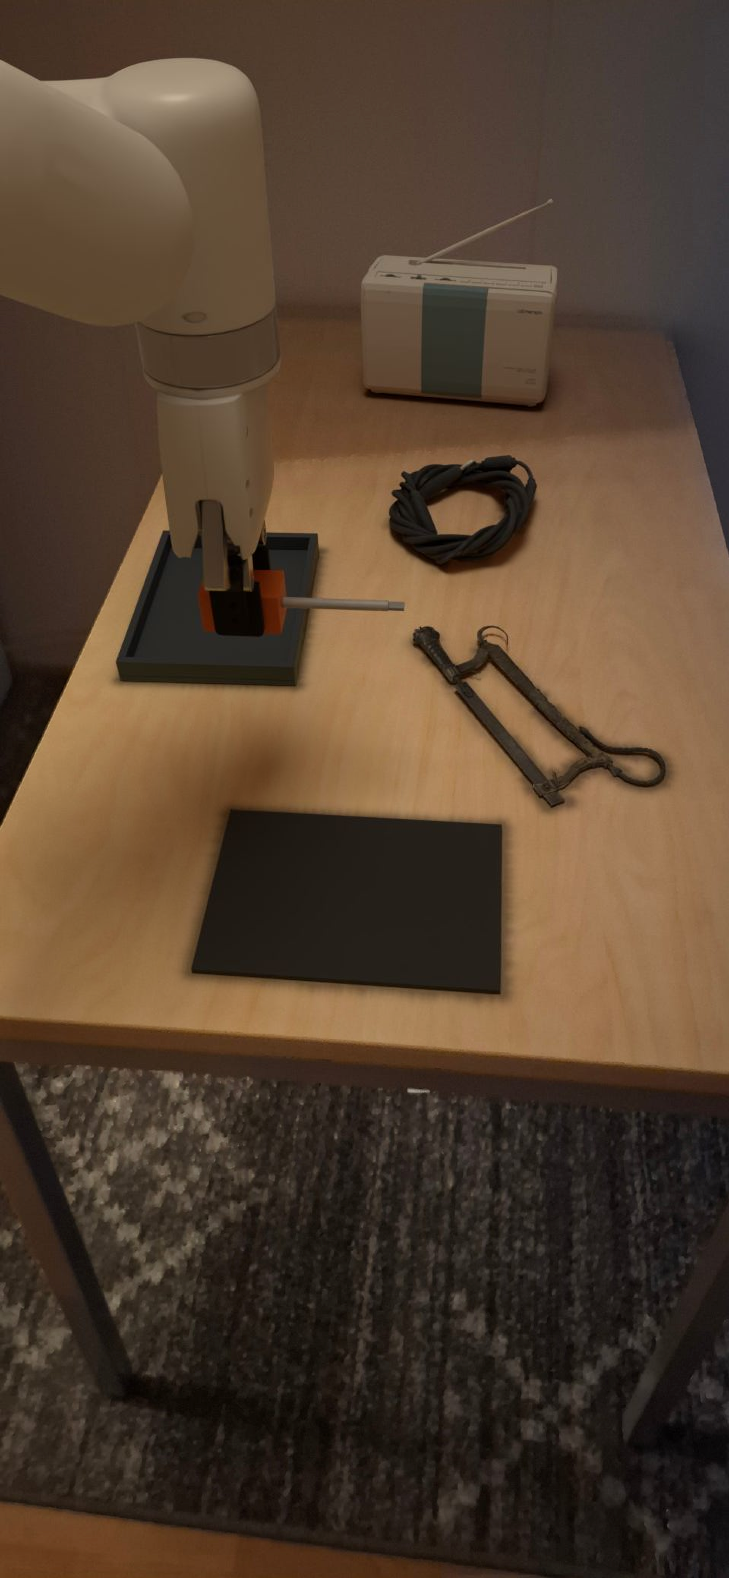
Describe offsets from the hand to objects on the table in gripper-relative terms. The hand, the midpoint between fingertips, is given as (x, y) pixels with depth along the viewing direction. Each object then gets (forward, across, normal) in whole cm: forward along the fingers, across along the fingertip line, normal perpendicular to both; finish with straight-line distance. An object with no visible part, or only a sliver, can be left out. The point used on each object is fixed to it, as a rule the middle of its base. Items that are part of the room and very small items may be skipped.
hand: (245, 613), depth 69 cm
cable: (+15, -35, +14) cm, 40 cm away
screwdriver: (+1, 0, +4) cm, 4 cm away
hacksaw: (+15, -9, +21) cm, 27 cm away
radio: (+15, -62, +13) cm, 66 cm away
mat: (+15, +12, +8) cm, 21 cm away
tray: (+15, -19, -6) cm, 25 cm away
